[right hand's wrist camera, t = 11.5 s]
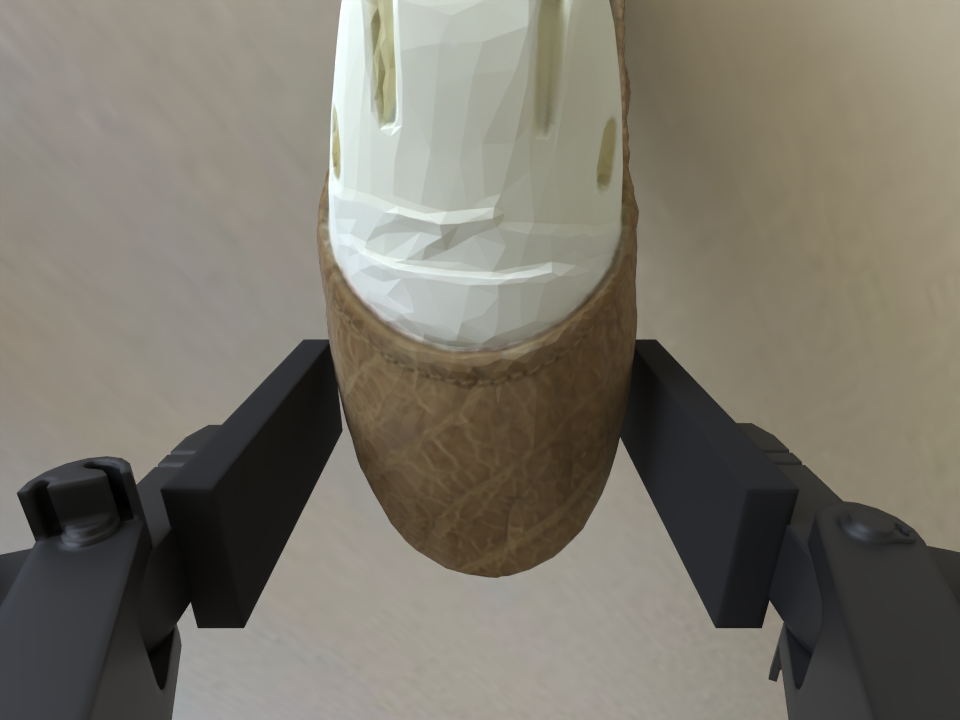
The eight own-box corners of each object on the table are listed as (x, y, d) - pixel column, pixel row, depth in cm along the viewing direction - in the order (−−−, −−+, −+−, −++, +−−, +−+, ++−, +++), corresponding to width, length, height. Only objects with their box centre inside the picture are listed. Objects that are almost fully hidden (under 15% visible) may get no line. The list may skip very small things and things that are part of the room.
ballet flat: (283, 541, 13) (-77, 616, 5) (426, -132, 20) (378, -617, 11) (602, 585, 13) (818, 753, 4) (646, -116, 19) (771, -607, 11)
